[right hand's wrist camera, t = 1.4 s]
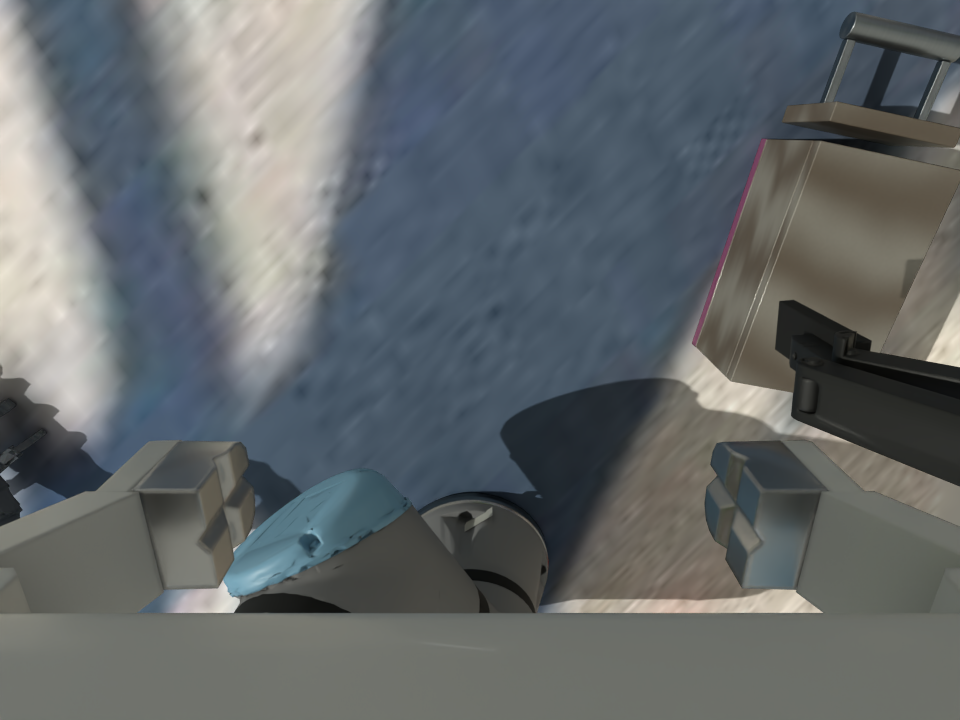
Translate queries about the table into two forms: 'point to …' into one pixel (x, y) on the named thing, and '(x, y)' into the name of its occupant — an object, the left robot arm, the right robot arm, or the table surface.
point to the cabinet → (819, 249)
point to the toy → (3, 504)
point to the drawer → (877, 122)
